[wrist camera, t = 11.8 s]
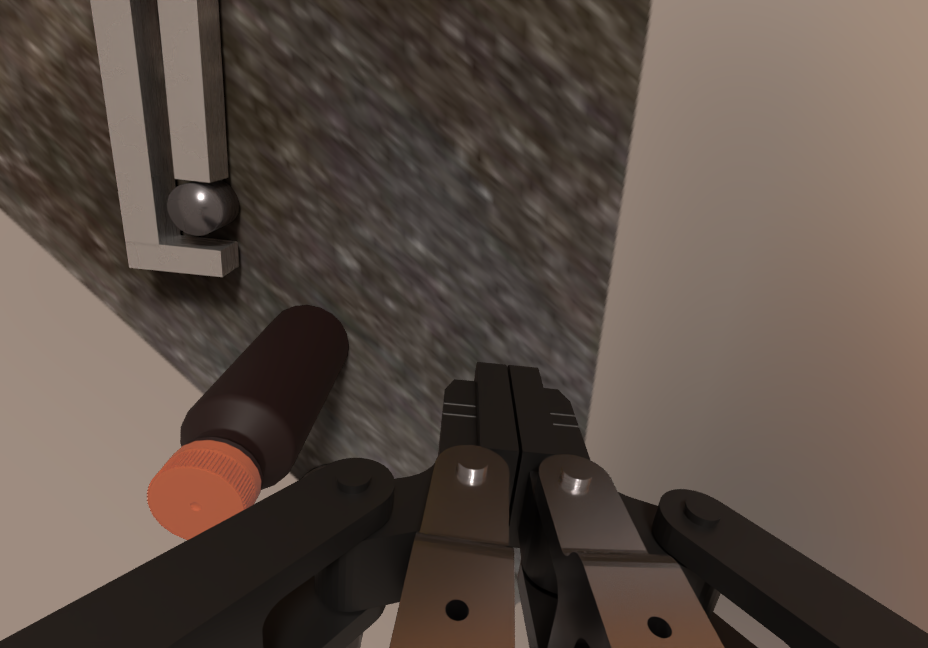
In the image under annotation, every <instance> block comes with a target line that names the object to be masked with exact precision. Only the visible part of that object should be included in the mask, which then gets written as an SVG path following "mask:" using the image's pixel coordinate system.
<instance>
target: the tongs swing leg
mask: <svg viewBox="0 0 928 648" xmlns="http://www.w3.org/2000/svg"><path fill="white" fill-rule="evenodd" d="M157 2H158V13H159V23H160V33H161V44H162V54H163V64H164V74H165V85H166V95H167V105H168V116H169V126H170V136H171V147H172V157H173V167H174V178H175V179H182V180H190V181H194V182H190V183H187V184H183V185H180V186H177V187H176V188H175V189H173V190H172V192H171V193H170V195H169V197H168V201H167V209H168V213H169V216H170V218H171V220H172V221H173V223H174V224H175V225H176V226H177V227H178V228H179V229H181V230H182V231H184V232H185V233H188V234H190V235H195V236H202V235H206V234H208V233H210V232H213V231H215V230H217V229H219V228H221V227H223V226H225V225H227V224H229V223H231V222H232V221H234V219H235V218H236V217H237V215H238V212H239V201H238V197H237V195H236V193H235V191H234V190H233V189H232V188H231V187H230V186H229V185H228V184H227V183H226V182H224V181H222V179H225V178H229V177H228V160H227V143H226V125H225V108H224V91H223V74H222V57H221V40H220V23H219V6H218V0H157Z"/></svg>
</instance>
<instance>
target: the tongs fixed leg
mask: <svg viewBox="0 0 928 648" xmlns="http://www.w3.org/2000/svg"><path fill="white" fill-rule="evenodd" d="M90 1H91V8H92V15H93V22H94V29H95V35H96V42H97V49H98V56H99V63H100V70H101V77H102V84H103V90H104V97H105V104H106V111H107V118H108V125H109V132H110V139H111V145H112V152H113V159H114V166H115V173H116V180H117V187H118V194H119V200H120V207H121V214H122V221H123V228H124V235H125V242H126V248H127V255H128V262H129V268H138V269H148V270H157V271H167V272H177V273H187V274H196V275H206V276H216V277H224V276H225V275H227V274H228V273H230V272H231V271H232V270H234V269H235V268H237V267H238V266H239V255H238V241H231V240H221V239H212V238H202V237H193V236H183V235H180V229H179V228H178V227H177V226H176V225H175V224H174V223H173V221H172V220H171V218H170V216H169V213H168V209H167V201H168V197H169V195H170V193H171V192H172V190H173V189H175V188H176V187H175V178H174V168H173V158H172V148H171V139H170V129H169V120H168V110H167V100H166V91H165V81H164V71H163V62H162V52H161V43H160V33H159V23H158V14H157V4H156V0H90Z"/></svg>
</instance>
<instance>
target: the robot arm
mask: <svg viewBox="0 0 928 648" xmlns="http://www.w3.org/2000/svg"><path fill="white" fill-rule="evenodd" d="M574 415H575V414H574V411H573V408H572V405H571V402H570V401H569V400H568V399H567V398H566V397H565V396H564V395H563V394H562V393H561V392H560V391H559V390H558V389H548V388H543V384H542V380H541V376H540V373H539V369H538V368H534V367H524V366H514V365H508V367H507V365H503V364H493V363H483V362H477V365H476V371H475V379H474V381H466V380H455V379H454V380H453V381H452V383H451V384H450V385H449V386H448V387H447V388H446V389H445V394H444V403H443V413H442V422H441V432H440V441H439V452H438V457H437V459H436V461H435V463H434V465H433V466H432V467H430V468H429V469H428V470H426V471H424V472H422V473H420V474H417V475H414V476H410V477H404V478H397V479H394V477H393V475H392V473H391V472H390V471H389V469H388V468H386V467H385V466H384V465H382V464H380V463H379V462H376V461H373V460H370V459H364V458H347V459H342V460H338V461H335V462H333V463H330V464H328V465H324V466H321V467H318V468H315V469H313V470H311V471H310V472H308V473H307V474H306V475H305V476H304V477H303V478H302V479H300V480H299V481H297V482H295V483H293V484H291V485H289V486H287V487H286V488H284V489H282V490H280V491H278V492H276V493H274V494H273V495H271V496H269V497H267V498H265V499H263V500H262V501H260V502H258V503H256V504H254V505H252V506H250V507H248V508H247V509H245V510H243V511H241V512H239V513H237V514H235V515H234V516H232V517H230V518H228V519H226V520H224V521H222V522H221V523H219V524H217V525H215V526H213V527H211V528H209V529H208V530H206V531H204V532H202V533H200V534H198V535H196V536H195V537H193V538H191V539H189V540H187V541H185V542H184V543H182V544H180V545H178V546H176V547H174V548H172V549H170V550H169V551H167V552H165V553H163V554H161V555H159V556H157V557H156V558H154V559H152V560H150V561H148V562H146V563H145V564H143V565H141V566H139V567H137V568H135V569H133V570H132V571H130V572H128V573H126V574H124V575H122V576H121V577H118V578H117V579H115V580H113V581H111V582H109V583H107V584H106V585H104V586H102V587H100V588H98V589H96V590H94V591H92V592H91V593H89V594H87V595H85V596H83V597H81V598H80V599H78V600H76V601H74V602H72V603H70V604H68V605H67V606H65V607H63V608H61V609H59V610H57V611H55V612H53V613H52V614H50V615H48V616H46V617H44V618H42V619H40V620H39V621H37V622H35V623H33V624H31V625H29V626H28V627H26V628H24V629H22V630H20V631H18V632H16V633H15V634H13V635H11V636H9V637H7V638H5V639H3V640H2V641H0V648H360V646H361V640H362V636H363V632H364V631H365V630H366V629H367V628H369V627H370V626H371V625H372V624H373V623H374V622H375V621H376V620H377V619H378V618H379V617H380V616H381V614H382V613H383V610H384V608H385V606H386V605H388V604H392V603H397V602H400V603H399V608H398V612H397V617H396V621H395V625H394V630H393V634H392V638H391V643H390V647H389V648H515V579H514V548H513V547H515V548H520V553H521V561H520V567H519V572H518V578H517V582H518V589H519V594H520V599H521V605H522V609H523V615H524V621H525V626H526V631H527V636H528V642H529V647H530V648H757V647H756V646H755V645H754V644H753V643H751V642H750V641H749V640H747V639H746V638H745V637H744V636H743V635H741V634H740V633H739V632H738V631H736V630H735V629H734V628H733V627H731V626H730V625H729V624H728V623H726V622H725V621H724V620H723V619H721V618H720V617H719V616H718V615H716V614H715V613H714V612H713V611H714V608H715V606H716V603H717V601H718V599H719V596H720V594H723V595H724V596H725V597H727V598H728V599H729V600H731V601H732V602H733V603H735V604H736V605H737V606H738V607H740V608H741V609H742V610H744V611H745V612H746V613H747V614H749V615H750V616H752V617H753V618H754V619H755V620H757V621H758V622H759V623H761V624H762V625H763V626H764V627H766V628H767V629H768V630H770V631H771V632H772V633H774V634H775V635H776V636H778V637H779V638H780V639H782V640H783V641H784V642H785V643H786V644H787V645H789V647H790V648H928V633H926V632H924V631H923V630H921V629H920V628H918V627H917V626H915V625H913V624H912V623H910V622H909V621H907V620H906V619H904V618H903V617H901V616H899V615H898V614H896V613H895V612H893V611H892V610H890V609H888V608H887V607H885V606H884V605H882V604H881V603H879V602H877V601H876V600H874V599H873V598H871V597H869V596H868V595H866V594H865V593H863V592H862V591H860V590H858V589H857V588H855V587H854V586H852V585H851V584H849V583H847V582H846V581H844V580H843V579H841V578H839V577H838V576H836V575H835V574H833V573H832V572H830V571H828V570H827V569H825V568H824V567H822V566H821V565H819V564H817V563H816V562H814V561H813V560H811V559H809V558H808V557H806V556H805V555H803V554H802V553H800V552H799V551H797V550H795V549H794V548H792V547H791V546H789V545H787V544H786V543H784V542H783V541H781V540H780V539H778V538H776V537H775V536H773V535H771V534H770V533H769V532H767V531H765V530H764V529H762V528H761V527H759V526H758V525H756V524H754V523H753V522H751V521H750V520H748V519H746V518H745V517H743V516H742V515H740V514H739V513H737V512H735V511H734V510H732V509H731V508H729V507H728V506H726V505H724V504H723V503H721V502H719V501H718V500H716V499H714V498H712V497H710V496H708V495H706V494H703V493H700V492H696V491H692V490H686V489H677V490H671V491H668V492H666V493H665V494H664V495H663V496H662V497H661V499H660V502H659V505H658V506H656V505H653V504H650V503H647V502H644V501H640V500H637V499H634V498H631V497H628V496H625V495H623V494H621V493H619V492H618V491H617V489H616V487H615V485H614V483H613V481H612V479H611V477H610V476H609V474H608V473H607V472H606V471H605V470H604V469H603V468H602V467H600V466H599V465H598V464H596V463H595V462H593V461H591V460H590V458H589V455H588V452H587V449H586V446H585V443H584V440H583V437H582V434H581V432H580V429H579V428H578V423H577V420H576V417H574Z"/></svg>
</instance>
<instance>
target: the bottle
mask: <svg viewBox="0 0 928 648" xmlns="http://www.w3.org/2000/svg"><path fill="white" fill-rule="evenodd" d="M348 348H349V343H348V338H347V333H346V331H345V329H344V328H343V326H342V324H341V322H340V321H339V320H338V319H337V318H335V317H334V316H333V315H332V314H331V313H329V312H327V311H325V310H324V309H322V308H319V307H315V306H310V305H302V306H294V307H291V308H289V309H286V310H284V311H282V312H281V313H280V314H279V315H278V316H277V317H276V318H275V319H274V320H273V321H272V322H271V323H270V324H269V325H268V326H267V327H266V328H265V329H264V330H263V332H262V333H261V334H260V335H259V336H258V337H257V338H256V339H255V340H254V341H253V342H252V343H251V344H250V345H249V347H248V348H247V349H246V350H245V351H244V352H243V353H242V354H241V355H240V356H239V357H238V358H237V359H236V360H235V362H234V363H233V364H232V365H231V366H230V367H229V368H228V369H227V370H226V371H225V372H224V373H223V374H222V376H221V377H220V378H219V379H218V380H217V381H216V382H215V383H214V384H213V385H212V386H211V387H210V388H209V389H208V391H207V392H206V393H205V394H204V395H203V396H202V397H201V398H200V399H199V400H198V401H197V402H196V403H195V405H194V406H193V407H192V408H191V409H190V410H189V411H188V413H187V415H186V417H185V419H184V421H183V423H182V426H181V440H180V442H181V446H182V447H181V448H180V449H179V450H178V451H177V452H176V453H174V454H173V455H172V457H171V458H170V459H169V460H168V461H167V463H166V464H165V465H164V466H163V467H162V469H161V470H160V471H159V472H158V473H157V474H156V475H155V477H154V478H153V479H152V481H151V483H150V484H149V487H148V488H149V489H148V490H147V491H148V493H147V494H148V496H147V497H148V500H147V501H148V505H149V508H150V509H151V510H150V511H151V512H152V514H153V516H154V517H155V518H156V520H157V521H158V522H159V523H160V524H161V526H163V527H164V528H165V529H167V530H168V531H170V532H171V533H172V534H174V535H177V536H179V537H181V538H183V539H186V540H189V539H191V538H193V537H195V536H196V535H198V534H200V533H202V532H204V531H206V530H208V529H209V528H211V527H213V526H215V525H217V524H219V523H221V522H222V521H224V520H226V519H228V518H230V517H232V516H234V515H235V514H237V513H239V512H241V511H243V510H245V509H247V508H248V507H250V506H252V505H254V503H255V501H256V499H257V498H258V496H259V494H260V491H261V490H262V489H265V488H268V487H270V486H273V485H275V484H276V483H277V482H279V481H280V480H281V479H283V478H284V477H285V476H286V475H287V474H288V473H289V471H290V470H291V468H292V466H293V464H294V463H295V461H296V459H297V457H298V455H299V453H300V451H301V449H302V447H303V445H304V443H305V441H306V439H307V437H308V435H309V433H310V431H311V429H312V427H313V425H314V423H315V421H316V419H317V416H318V414H319V412H320V410H321V408H322V406H323V404H324V402H325V400H326V398H327V396H328V394H329V392H330V390H331V388H332V386H333V384H334V382H335V380H336V378H337V376H338V374H339V372H340V370H341V368H342V366H343V364H344V362H345V360H346V358H347V354H348Z"/></svg>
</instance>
